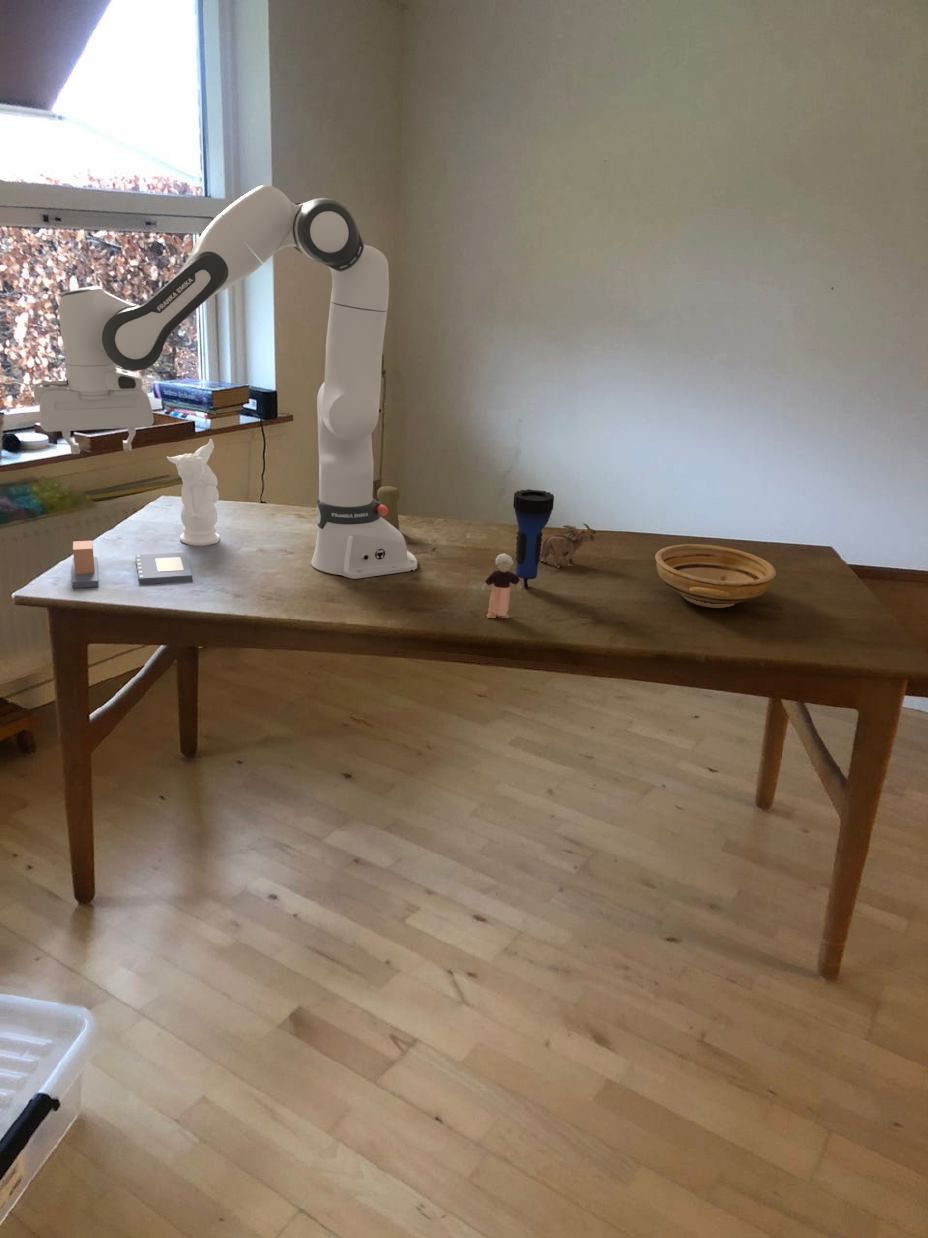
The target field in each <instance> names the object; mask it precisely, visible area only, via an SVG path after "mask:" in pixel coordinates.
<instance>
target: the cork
mask: <svg viewBox="0 0 928 1238" xmlns="http://www.w3.org/2000/svg"><path fill="white" fill-rule="evenodd" d="M376 497H377V499H378V502H380V503H381V504H382V505H385V506H386V507H387V508H388V513H387V515H385V516H381V517H382V518H383V519H385V520H386V521H387V522H389V523H390V524H391V525H392V526H394V527H395V528H396V529H397V530H400V521H399V511H398V500H399V498H400V491H399V490H398V488H397V487H394V486H390V485H387V486H386V485H385V486H381V487H379V488H378V490H377V492H376Z"/></svg>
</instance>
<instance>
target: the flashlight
mask: <svg viewBox="0 0 928 1238" xmlns="http://www.w3.org/2000/svg"><path fill="white" fill-rule="evenodd" d="M554 501H555V496H554V494H553V493H551V492H549V491H548V492H547V491H545V490H538V489H530V488H529V489H521V490H517V491H516V492H514V495H513V504H512V505H513V507H512V508H513V509H514V515H515V517H516V522H517V526H518V528H517V532H516V547H515V550H516V551H515V555H516V557H515V561H516V564H515V565H516V568H515V575H516V576H517V577H518V578H519V579H523V588H524V589H528V588H529V584H528V581H529V580H534V579H536V578H537V576H538V569H539V563H540V562H541V559H540V558H539V557H540V555H541V552H542V546H543V543H542V542H543V534H544V533H543V532H542V531H543V529H544V528H545V527H546V525H547V524H548V522H549V520H550V518H551V515H552V512H553V511H552V510H554Z"/></svg>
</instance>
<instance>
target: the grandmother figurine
mask: <svg viewBox="0 0 928 1238" xmlns="http://www.w3.org/2000/svg"><path fill="white" fill-rule="evenodd" d="M513 564H514V561H513V559H512V556H510V555H509V554H507V553H501V554H500V553H499V554H498V555H497V557H496V558H495V565H496V568H497V570H495V571H493V572H492V573H491V574H490V575H489V576H488V577H487V578H486V579H485V581H484V583H483V585H482V586H481V589H480V590H481V591H482V592H487V589H488V588H489V587H490V586H491V585H492V588H491V592H490V597H489V603H488V610H487V611H488V613H487V615H486V616H487V617H488V618H496V617H499V618H500V617H501V618H508V617H509V618H510V615H509V614H508V611H509V606H510V605H509V604H510V599H511V598H510V597H511V585H510V584H513V585H515V587H516V588H515V589H516V590H518V591H519V590H521V589H522V585H521V582H520V580H521V578H519V577H517V575H516V573H514V572H511V571H510V569H511V567H512V566H513ZM488 618H487V619H488ZM501 618H500V619H501ZM509 618H508V619H509ZM496 619H497V618H496Z"/></svg>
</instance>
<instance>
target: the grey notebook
mask: <svg viewBox="0 0 928 1238" xmlns="http://www.w3.org/2000/svg"><path fill="white" fill-rule="evenodd" d="M135 564H136V569H137V577H138V582H139V585H148V584H151V585H153V584H162V583H163V584H164V583H180V582H182V583H183V582H193V574H192V570H191V567H190V564H189V560H188V557H187V554H186V552H168V553H152V554H150V553H149V554H135Z"/></svg>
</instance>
